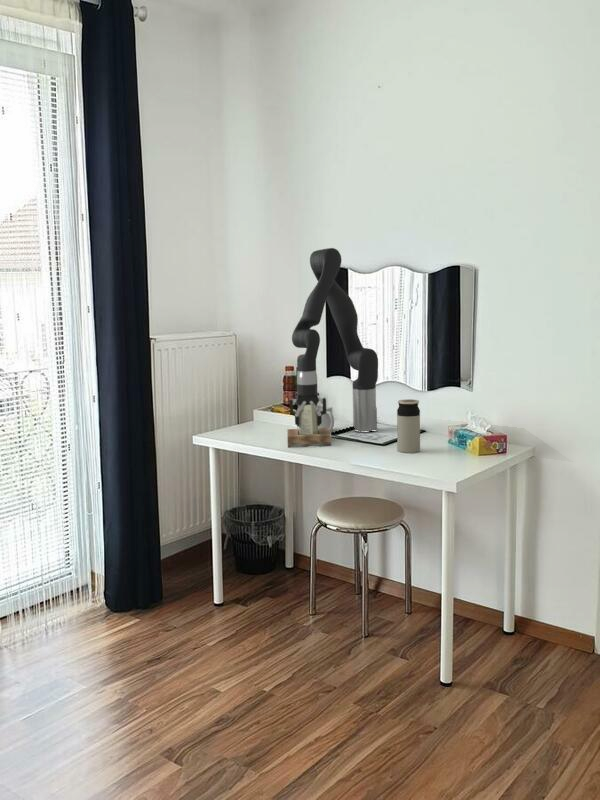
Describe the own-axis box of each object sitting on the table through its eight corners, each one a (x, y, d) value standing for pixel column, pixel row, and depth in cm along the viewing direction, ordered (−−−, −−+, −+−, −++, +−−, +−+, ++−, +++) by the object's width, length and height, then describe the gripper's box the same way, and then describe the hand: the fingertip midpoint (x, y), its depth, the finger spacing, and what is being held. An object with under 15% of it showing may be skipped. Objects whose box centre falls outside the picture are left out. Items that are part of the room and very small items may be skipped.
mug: (311, 429, 328) (310, 405, 326) (334, 429, 327) (333, 404, 325) (310, 435, 317) (309, 410, 315) (334, 434, 316) (333, 409, 315)
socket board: (329, 438, 310) (328, 427, 309) (331, 446, 296) (330, 435, 296) (287, 439, 310) (287, 429, 309) (287, 447, 296) (287, 436, 296)
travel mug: (423, 449, 286) (423, 400, 283) (414, 454, 279) (413, 403, 276) (403, 447, 290) (403, 398, 287) (393, 452, 284) (393, 402, 281)
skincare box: (318, 435, 303) (318, 403, 301) (312, 437, 299) (312, 405, 297) (304, 434, 306) (303, 402, 304) (298, 436, 303) (297, 404, 301)
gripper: (325, 380, 303) (326, 423, 306) (288, 381, 303) (289, 424, 306) (326, 383, 296) (327, 427, 298) (287, 384, 296) (289, 428, 298)
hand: (308, 425), depth 302 cm, fingers closed on skincare box, 7 cm apart
